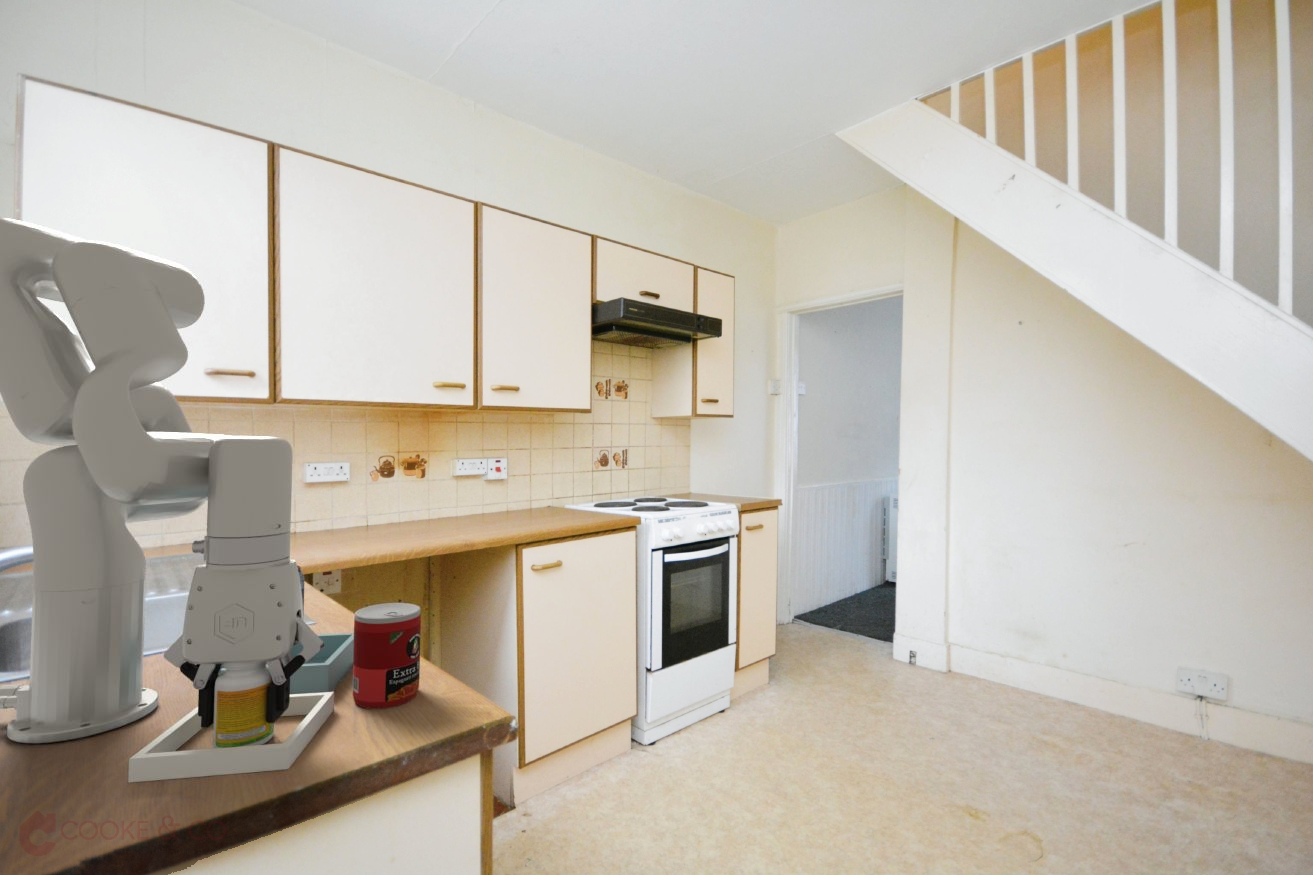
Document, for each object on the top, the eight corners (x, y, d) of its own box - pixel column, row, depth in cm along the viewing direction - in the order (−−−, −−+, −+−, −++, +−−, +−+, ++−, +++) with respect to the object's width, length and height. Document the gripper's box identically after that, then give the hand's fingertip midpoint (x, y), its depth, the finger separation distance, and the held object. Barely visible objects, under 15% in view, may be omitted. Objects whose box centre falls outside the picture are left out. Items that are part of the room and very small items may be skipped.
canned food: (395, 712, 72) (397, 620, 72) (337, 706, 73) (339, 615, 74) (431, 688, 79) (433, 604, 80) (378, 682, 81) (380, 600, 81)
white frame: (128, 782, 56) (129, 758, 56) (206, 718, 70) (206, 699, 70) (288, 769, 59) (288, 746, 59) (333, 710, 72) (334, 691, 72)
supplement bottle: (280, 741, 64) (283, 650, 65) (220, 760, 60) (223, 662, 61) (265, 725, 68) (267, 639, 68) (207, 742, 64) (209, 650, 64)
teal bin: (207, 703, 73) (208, 670, 74) (257, 664, 87) (258, 636, 87) (328, 696, 76) (328, 664, 76) (358, 659, 89) (359, 632, 90)
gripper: (135, 558, 59) (128, 743, 59) (323, 554, 63) (319, 729, 62) (179, 546, 67) (174, 710, 66) (346, 543, 70) (342, 700, 70)
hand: (244, 718), depth 64 cm, fingers closed on supplement bottle, 5 cm apart
